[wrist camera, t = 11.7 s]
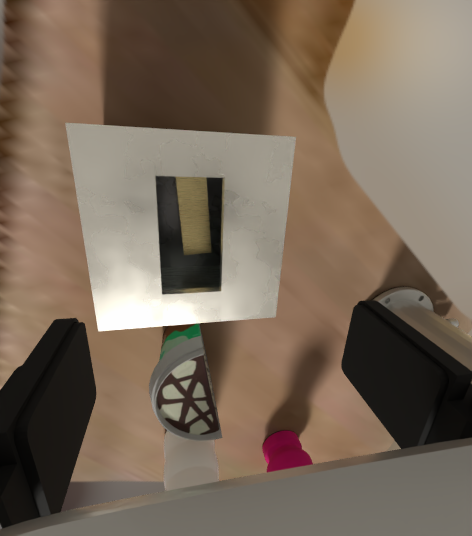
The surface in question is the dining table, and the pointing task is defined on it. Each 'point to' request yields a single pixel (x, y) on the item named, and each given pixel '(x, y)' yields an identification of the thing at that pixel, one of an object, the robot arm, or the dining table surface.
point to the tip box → (168, 223)
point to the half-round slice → (184, 386)
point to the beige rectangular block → (193, 214)
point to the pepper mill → (284, 452)
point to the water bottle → (188, 462)
